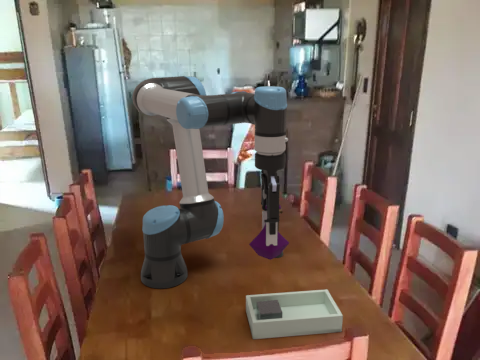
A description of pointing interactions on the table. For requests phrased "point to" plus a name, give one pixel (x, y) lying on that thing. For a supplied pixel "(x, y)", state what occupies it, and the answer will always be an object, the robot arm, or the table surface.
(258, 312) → the block
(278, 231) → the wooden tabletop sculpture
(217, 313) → the table surface
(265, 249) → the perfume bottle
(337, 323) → the tray
